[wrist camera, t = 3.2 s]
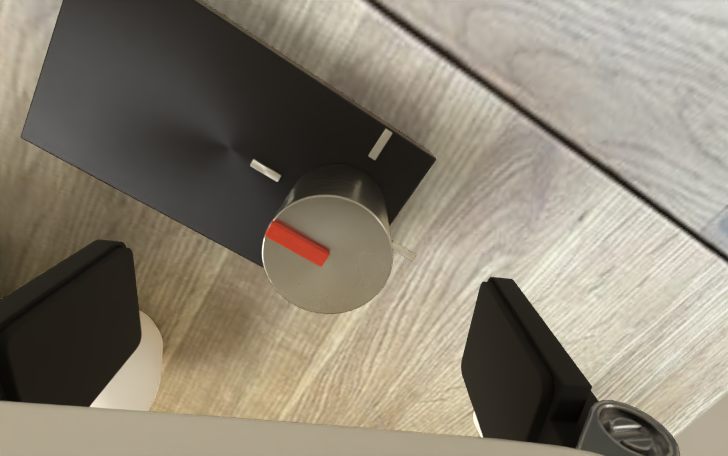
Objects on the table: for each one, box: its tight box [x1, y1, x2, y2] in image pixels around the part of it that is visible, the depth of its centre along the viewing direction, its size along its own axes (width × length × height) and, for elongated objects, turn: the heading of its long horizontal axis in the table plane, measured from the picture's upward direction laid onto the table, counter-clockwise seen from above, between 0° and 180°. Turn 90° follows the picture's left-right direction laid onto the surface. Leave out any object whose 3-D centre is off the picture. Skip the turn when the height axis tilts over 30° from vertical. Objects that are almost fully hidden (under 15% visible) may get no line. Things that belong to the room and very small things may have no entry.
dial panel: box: [21, 0, 436, 268], centre depth 18 cm, size 18×9×2 cm, turn 58°
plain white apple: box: [90, 310, 163, 411], centre depth 20 cm, size 7×7×8 cm
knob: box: [262, 164, 393, 314], centre depth 16 cm, size 5×5×5 cm
